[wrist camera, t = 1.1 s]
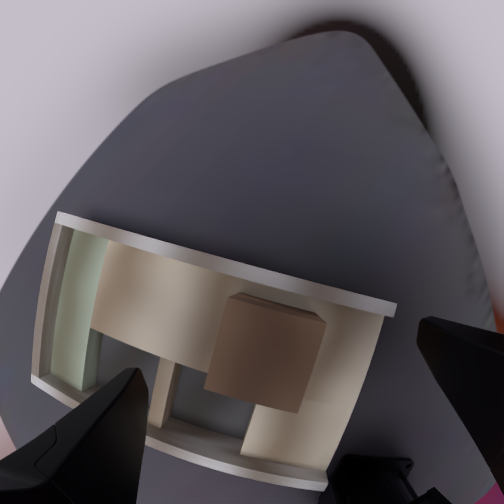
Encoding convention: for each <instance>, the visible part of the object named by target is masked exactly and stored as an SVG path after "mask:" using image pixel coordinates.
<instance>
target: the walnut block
mask: <svg viewBox="0 0 504 504" xmlns="http://www.w3.org/2000/svg"><path fill="white" fill-rule="evenodd" d="M326 326H327V323H326V322H325V321H324V320H323V319H322V318H321V317H319V316H318V315H317V314H316V313H315V312H311V311H308V310H304V309H300V308H296V307H292V306H288V305H285V304H281V303H277V302H273V301H270V300H266V299H262V298H259V297H255V296H251V295H248V294H244V293H237V294H235V295H232V296H230V297H228V298H227V302H226V306H225V309H224V313H223V317H222V321H221V324H220V328H219V332H218V336H217V339H216V343H215V347H214V351H213V355H212V358H211V362H210V366H209V370H208V374H207V377H206V381H205V385H204V389H206V390H209V391H212V392H215V393H218V394H222V395H225V396H228V397H232V398H235V399H239V400H242V401H246V402H250V403H253V404H257V405H261V406H265V407H269V408H273V409H277V410H282V411H286V412H291V413H295V414H298V411H299V409H300V406H301V403H302V400H303V397H304V395H305V392H306V389H307V386H308V383H309V380H310V377H311V374H312V371H313V368H314V365H315V362H316V359H317V356H318V352H319V349H320V346H321V343H322V339H323V336H324V333H325V329H326Z"/></svg>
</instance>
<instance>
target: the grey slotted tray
mask: <svg viewBox="0 0 504 504" xmlns="http://www.w3.org/2000/svg"><path fill="white" fill-rule="evenodd" d="M237 293H244V294H248V295H251V296H255V297H259V298H262V299H266V300H270V301H273V302H277V303H281V304H285V305H288V306H292V307H296V308H300V309H304V310H308V311H311V312H315V313H316V314H317V315H318V316H319V317H321V318H322V319H323V320H324V321H325V322H326V323H327V326H326V329H325V333H324V336H323V339H322V343H321V346H320V349H319V352H318V356H317V359H316V362H315V365H314V368H313V371H312V374H311V377H310V380H309V383H308V386H307V389H306V392H305V395H304V397H303V400H302V403H301V406H300V409H299V411H298V414H295V413H291V412H286V411H282V410H277V409H273V408H269V407H265V406H261V405H257V404H253V403H250V402H246V401H242V400H239V399H235V398H232V397H228V396H225V395H222V394H218V393H215V392H212V391H209V390H206V389H204V385H205V381H206V377H207V374H208V370H209V366H210V362H211V358H212V355H213V351H214V347H215V343H216V339H217V336H218V332H219V328H220V324H221V321H222V317H223V313H224V309H225V306H226V302H227V298H228V297H230V296H232V295H235V294H237ZM396 307H397V303H393V302H389V301H385V300H381V299H377V298H373V297H369V296H365V295H361V294H357V293H354V292H350V291H346V290H342V289H338V288H334V287H330V286H327V285H323V284H319V283H315V282H311V281H308V280H304V279H300V278H296V277H292V276H289V275H285V274H281V273H277V272H274V271H270V270H266V269H262V268H259V267H255V266H251V265H248V264H244V263H240V262H237V261H233V260H229V259H226V258H222V257H218V256H215V255H211V254H207V253H204V252H200V251H196V250H193V249H189V248H186V247H182V246H178V245H175V244H171V243H168V242H164V241H160V240H157V239H153V238H150V237H146V236H143V235H139V234H136V233H132V232H129V231H125V230H121V229H118V228H114V227H111V226H108V225H104V224H101V223H97V222H94V221H90V220H87V219H83V218H80V217H76V216H73V215H69V214H66V213H63V212H59V211H58V212H57V216H56V219H55V223H54V227H53V231H52V235H51V239H50V243H49V247H48V252H47V256H46V261H45V266H44V271H43V276H42V281H41V287H40V293H39V299H38V306H37V314H36V322H35V331H34V341H33V354H32V373H31V383H33V384H34V385H36V386H37V387H39V388H40V389H42V390H43V391H45V392H46V393H48V394H49V395H51V396H53V397H54V398H56V399H57V400H59V401H61V402H62V403H64V404H66V405H67V406H69V407H71V408H72V409H74V408H76V407H77V406H78V405H79V404H81V403H82V402H83V401H85V400H86V399H87V398H88V397H90V396H91V395H92V394H94V393H95V392H96V391H97V390H99V389H100V388H101V387H102V386H104V385H105V384H106V383H108V382H109V381H110V380H111V379H113V378H114V377H115V376H116V375H118V374H119V373H120V372H122V371H123V370H124V369H125V368H127V367H139V368H140V369H141V371H142V373H143V376H144V379H145V381H146V384H147V387H148V391H149V398H148V415H147V433H146V440H145V445H147V446H150V447H152V448H154V449H157V450H159V451H162V452H165V453H167V454H170V455H173V456H175V457H178V458H181V459H184V460H187V461H190V462H193V463H196V464H199V465H202V466H205V467H208V468H212V469H215V470H218V471H222V472H225V473H229V474H233V475H237V476H241V477H245V478H249V479H253V480H258V481H262V482H267V483H272V484H277V485H283V486H288V487H294V488H301V489H308V490H315V491H325V489H326V487H327V485H328V479H327V474H326V470H327V468H328V466H329V464H330V461H331V459H332V457H333V455H334V453H335V451H336V449H337V446H338V444H339V442H340V440H341V437H342V435H343V433H344V431H345V428H346V426H347V423H348V421H349V419H350V416H351V414H352V411H353V409H354V406H355V404H356V401H357V398H358V396H359V393H360V390H361V388H362V385H363V382H364V379H365V377H366V374H367V371H368V368H369V365H370V362H371V359H372V356H373V353H374V350H375V346H376V343H377V340H378V337H379V333H380V330H381V327H382V323H383V320H384V316H389V317H393V318H394V314H395V310H396Z"/></svg>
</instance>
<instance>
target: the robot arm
mask: <svg viewBox="0 0 504 504" xmlns="http://www.w3.org/2000/svg"><path fill="white" fill-rule="evenodd" d="M417 346H418V348H419V350H420V352H421V354H422V355H423V357H424V359H425V361H426V363H427V365H428V367H429V369H430V371H431V373H432V374H433V376H434V378H435V380H436V381H437V383H438V385H439V386H440V388H441V389H442V391H443V392H444V394H445V395H446V397H447V398H448V400H449V401H450V403H451V405H452V406H453V408H454V409H455V411H456V412H457V414H458V416H459V417H460V419H461V420H462V422H463V424H464V425H465V427H466V429H467V430H468V432H469V434H470V435H471V437H472V439H473V440H474V442H475V444H476V445H477V447H478V449H479V450H480V452H481V454H482V456H483V457H484V459H485V461H486V463H487V465H488V466H489V468H490V470H491V472H492V474H493V476H494V478H495V480H496V481H497V483H498V485H499V487H500V489H501V491H502V493H503V495H504V334H501V333H497V332H493V331H489V330H484V329H480V328H476V327H472V326H468V325H464V324H460V323H456V322H453V321H449V320H445V319H441V318H437V317H433V316H429V317H426V318H422V319H421V320H420V322H419V327H418V334H417ZM148 398H149V391H148V387H147V384H146V381H145V379H144V376H143V373H142V371H141V369H140V368H139V367H127V368H125V369H124V370H123V371H122V372H120V373H119V374H118V375H116V376H115V377H114V378H113V379H111V380H110V381H109V382H108V383H106V384H105V385H104V386H102V387H101V388H100V389H99V390H97V391H96V392H95V393H94V394H92V395H91V396H90V397H88V398H87V399H86V400H85V401H83V402H82V403H81V404H79V405H78V406H77V407H76V408H74V409H73V410H72V411H70V412H69V413H68V414H66V415H65V416H64V417H63V418H61V419H60V420H59V421H57V422H56V423H55V425H52V426H51V427H50V428H48V429H47V430H46V431H44V432H43V433H42V434H40V435H39V436H37V437H36V438H35V439H33V440H32V441H30V442H29V443H27V444H26V445H24V446H22V447H21V448H19V449H18V450H16V451H14V452H13V453H11V454H10V455H8V456H6V457H5V458H3V459H1V460H0V504H136V500H137V492H138V485H139V478H140V471H141V465H142V458H143V452H144V446H145V440H146V433H147V415H148ZM347 460H350V461H349V462H346V461H347ZM407 464H409V465H407ZM406 465H407V466H406ZM413 465H414V462H413V461H412V460H411V459H398V458H380V457H368V456H357V455H346V456H344V457H343V458H342V460H341V462H340V464H339V466H338V468H337V470H336V472H335V474H334V476H331V477H330V478H329V480H328V485H327V487H326V489H325V491H322V493H321V495H320V497H319V503H318V504H452V503H451V502H449V501H448V500H447V499H446V498H445V497H444V496H443V495H442V494H441V493H440V492H439V491H438V490H437V489H436V488H435V487H433V488H431V489H430V490H428V491H427V493H425V494H423V495H421V496H420V497H418V496H417V494H416V493H415V491H414V490H413V488H412V486H411V485H410V483H409V482H408V480H407V479H406V478H407V476H408V474H409V473H410V471H411V469H412V467H413Z"/></svg>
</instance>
